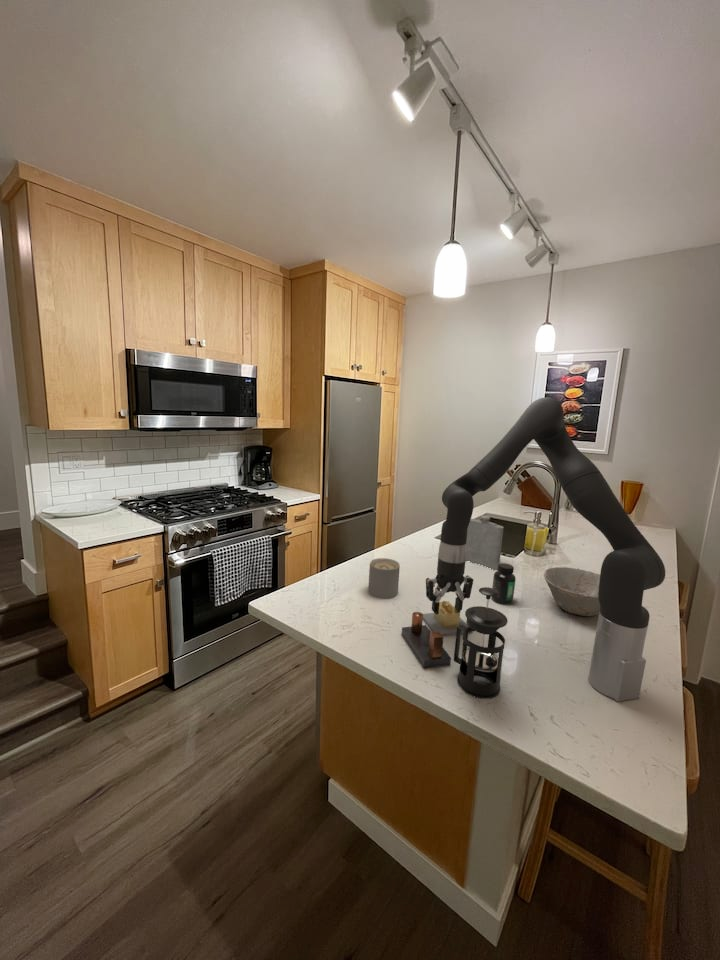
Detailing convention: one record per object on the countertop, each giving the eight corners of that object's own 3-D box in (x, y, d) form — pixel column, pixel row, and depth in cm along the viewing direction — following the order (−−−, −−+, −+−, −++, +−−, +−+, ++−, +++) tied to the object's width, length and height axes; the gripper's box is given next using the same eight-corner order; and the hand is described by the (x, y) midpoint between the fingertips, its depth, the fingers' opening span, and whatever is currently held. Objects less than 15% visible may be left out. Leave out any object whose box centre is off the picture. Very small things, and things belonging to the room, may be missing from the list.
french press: (510, 687, 92) (522, 592, 88) (489, 707, 86) (502, 606, 81) (464, 662, 100) (474, 575, 96) (442, 679, 94) (451, 585, 90)
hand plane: (450, 664, 99) (452, 636, 98) (423, 668, 97) (426, 639, 96) (425, 631, 113) (427, 606, 112) (401, 634, 112) (403, 608, 110)
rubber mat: (472, 633, 114) (472, 630, 114) (436, 636, 111) (436, 634, 111) (453, 613, 124) (454, 611, 124) (420, 616, 121) (420, 614, 121)
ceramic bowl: (604, 599, 139) (609, 572, 137) (629, 635, 117) (634, 602, 115) (535, 589, 145) (538, 562, 143) (545, 620, 123) (550, 590, 121)
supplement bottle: (514, 606, 131) (518, 571, 129) (492, 603, 132) (496, 568, 130) (511, 596, 138) (515, 563, 135) (490, 594, 139) (493, 560, 137)
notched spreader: (460, 559, 170) (464, 513, 166) (465, 557, 173) (469, 511, 169) (496, 571, 159) (502, 522, 156) (501, 568, 162) (506, 520, 158)
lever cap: (458, 627, 115) (460, 609, 114) (444, 629, 114) (446, 610, 113) (447, 615, 121) (448, 597, 120) (433, 616, 120) (435, 598, 119)
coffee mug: (383, 601, 130) (385, 572, 128) (362, 590, 137) (363, 562, 135) (410, 590, 139) (412, 562, 137) (389, 580, 146) (390, 553, 144)
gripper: (434, 563, 109) (429, 621, 112) (481, 560, 112) (475, 616, 115) (422, 553, 116) (418, 607, 119) (468, 551, 119) (462, 604, 122)
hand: (446, 611), depth 117 cm, fingers open, 6 cm apart
